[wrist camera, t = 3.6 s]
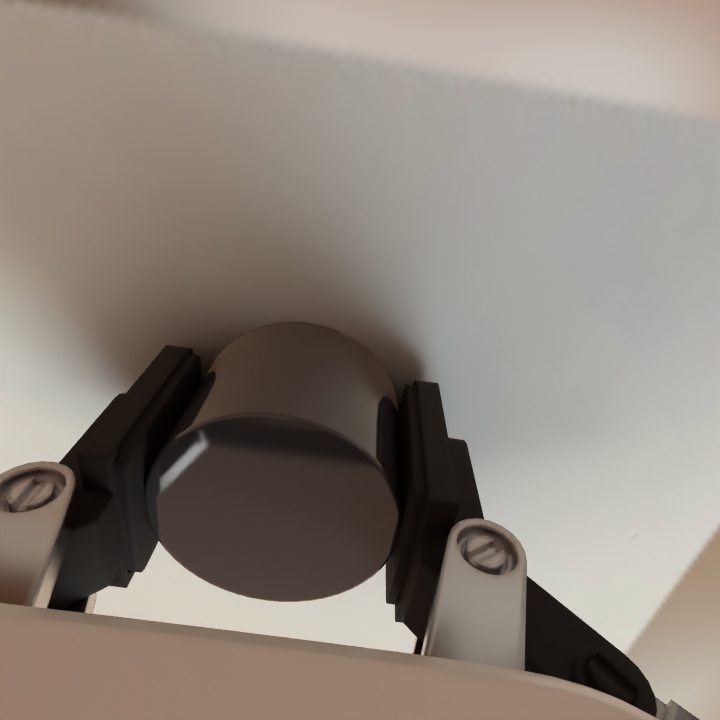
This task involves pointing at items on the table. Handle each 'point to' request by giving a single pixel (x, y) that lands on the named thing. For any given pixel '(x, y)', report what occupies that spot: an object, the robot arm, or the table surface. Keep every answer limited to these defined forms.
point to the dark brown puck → (283, 468)
